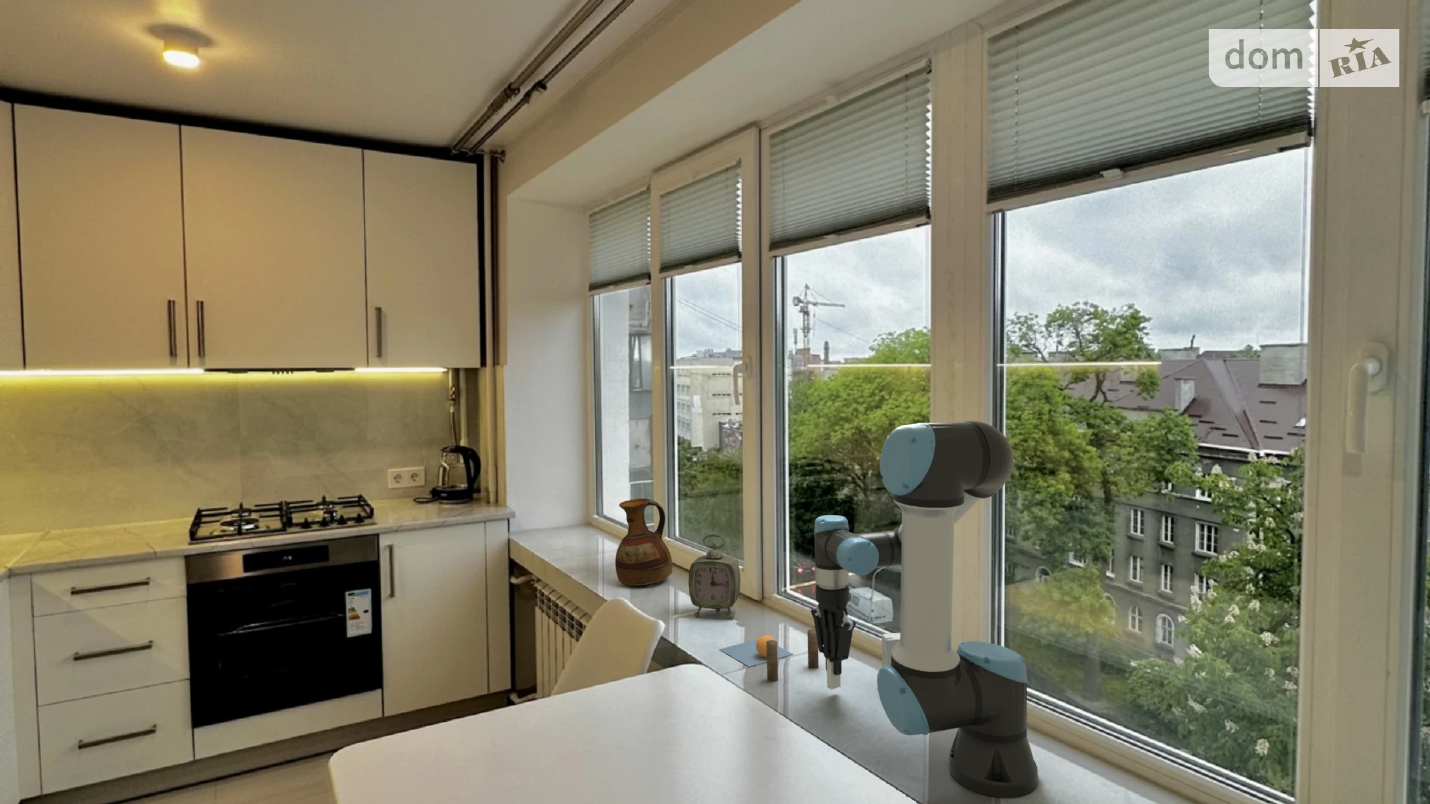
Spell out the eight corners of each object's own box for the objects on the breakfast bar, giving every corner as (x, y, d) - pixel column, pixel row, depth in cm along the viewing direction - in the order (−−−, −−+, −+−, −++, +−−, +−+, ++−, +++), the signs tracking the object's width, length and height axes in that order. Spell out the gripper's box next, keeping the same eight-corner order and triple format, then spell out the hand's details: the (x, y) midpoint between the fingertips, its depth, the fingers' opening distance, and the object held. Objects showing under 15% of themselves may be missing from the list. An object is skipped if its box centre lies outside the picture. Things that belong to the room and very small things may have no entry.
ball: (767, 646, 194) (779, 659, 190) (750, 651, 192) (762, 664, 187) (771, 628, 193) (782, 641, 188) (753, 633, 190) (765, 646, 186)
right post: (820, 667, 183) (820, 631, 182) (812, 669, 181) (812, 633, 181) (814, 663, 185) (813, 628, 184) (806, 666, 183) (805, 630, 183)
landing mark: (793, 654, 191) (793, 654, 191) (749, 667, 184) (749, 666, 184) (762, 638, 203) (762, 638, 203) (719, 649, 196) (719, 649, 196)
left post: (780, 679, 176) (779, 642, 176) (771, 682, 175) (770, 645, 174) (773, 675, 178) (773, 639, 178) (765, 678, 177) (764, 641, 176)
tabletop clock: (689, 618, 221) (687, 536, 220) (697, 609, 229) (695, 530, 228) (736, 621, 217) (734, 538, 216) (742, 611, 226) (740, 531, 225)
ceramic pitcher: (609, 579, 265) (606, 497, 264) (661, 571, 274) (659, 491, 272) (626, 593, 247) (623, 505, 246) (681, 585, 256) (679, 499, 255)
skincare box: (906, 681, 173) (906, 631, 173) (913, 690, 169) (913, 638, 168) (881, 683, 173) (880, 632, 172) (887, 691, 168) (887, 639, 168)
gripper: (864, 588, 162) (866, 693, 163) (826, 575, 173) (827, 673, 174) (838, 594, 158) (840, 701, 159) (801, 580, 169) (802, 681, 170)
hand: (833, 686), depth 167 cm, fingers closed
